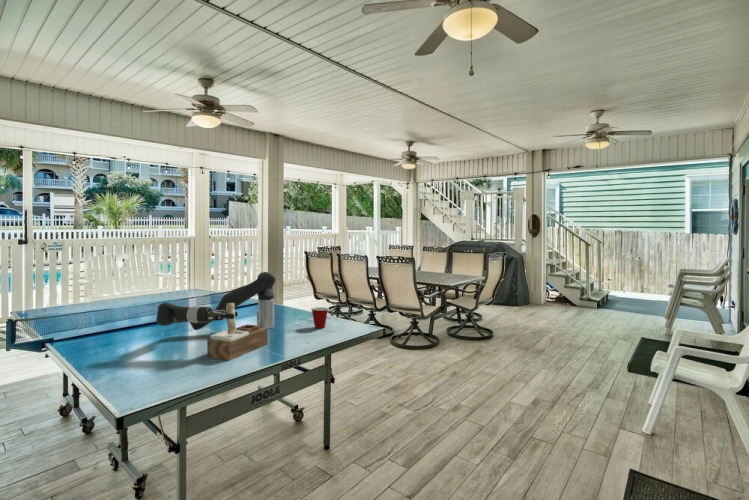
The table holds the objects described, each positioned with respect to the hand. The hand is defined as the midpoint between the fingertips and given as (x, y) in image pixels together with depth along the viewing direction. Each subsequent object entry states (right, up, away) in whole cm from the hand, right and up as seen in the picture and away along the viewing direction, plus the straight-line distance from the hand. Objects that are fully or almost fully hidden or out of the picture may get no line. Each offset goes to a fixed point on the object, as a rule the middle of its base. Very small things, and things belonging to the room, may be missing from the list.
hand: (235, 315), depth 182 cm
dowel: (-2, -8, +1) cm, 9 cm away
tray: (-3, -10, +1) cm, 11 cm away
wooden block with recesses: (-1, -18, +7) cm, 19 cm away
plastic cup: (+33, -16, +51) cm, 63 cm away
